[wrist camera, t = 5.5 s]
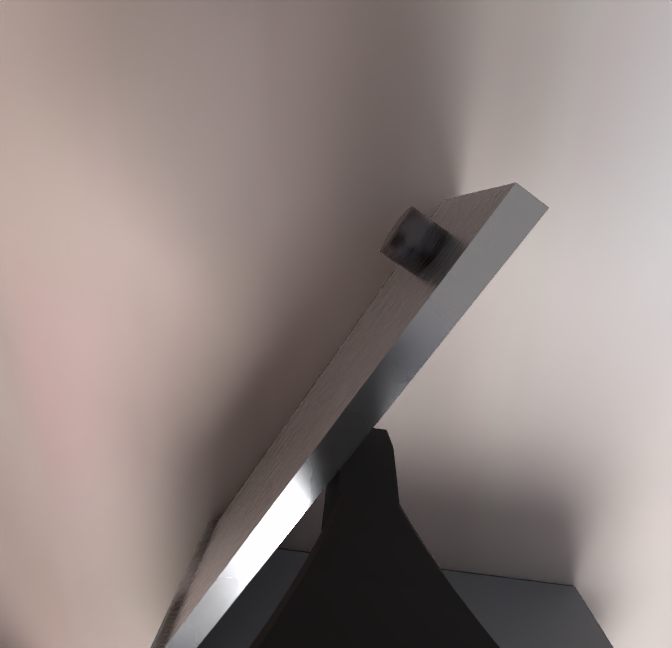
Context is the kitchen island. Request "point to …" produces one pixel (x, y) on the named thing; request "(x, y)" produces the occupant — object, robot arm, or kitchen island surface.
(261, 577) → the camera body
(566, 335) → the kitchen island surface
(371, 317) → the side door
